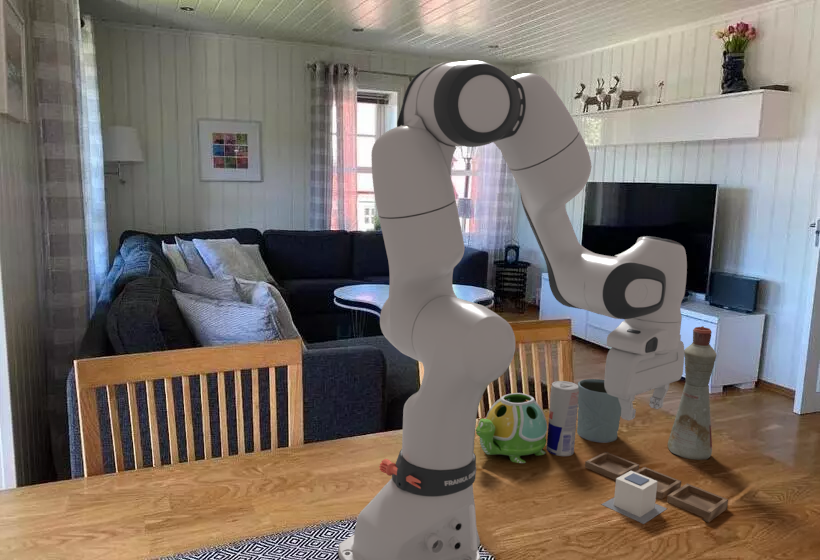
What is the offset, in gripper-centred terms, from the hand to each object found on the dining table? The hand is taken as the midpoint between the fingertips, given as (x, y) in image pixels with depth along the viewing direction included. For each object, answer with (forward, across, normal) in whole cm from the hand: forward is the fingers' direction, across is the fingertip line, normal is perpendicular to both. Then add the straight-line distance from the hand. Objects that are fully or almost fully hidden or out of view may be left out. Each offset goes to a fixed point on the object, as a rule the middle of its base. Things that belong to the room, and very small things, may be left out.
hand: (642, 413), depth 108 cm
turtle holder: (+18, -1, -28) cm, 33 cm away
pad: (+18, -1, 0) cm, 18 cm away
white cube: (+17, 0, 0) cm, 17 cm away
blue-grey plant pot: (+18, -24, -22) cm, 37 cm away
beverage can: (+18, -10, -22) cm, 30 cm away
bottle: (+17, -32, -5) cm, 36 cm away
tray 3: (+18, -11, +7) cm, 22 cm away
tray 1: (+18, -11, -10) cm, 23 cm away
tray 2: (+18, -11, -2) cm, 21 cm away
